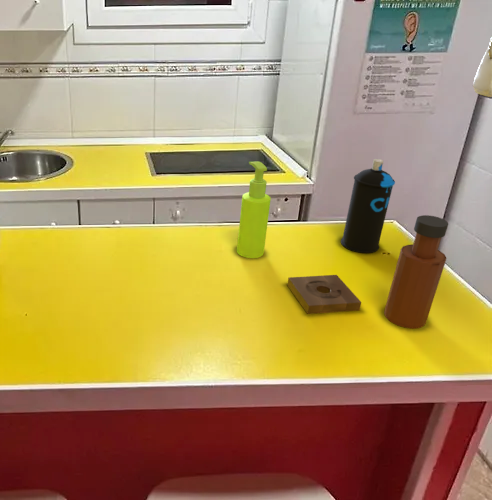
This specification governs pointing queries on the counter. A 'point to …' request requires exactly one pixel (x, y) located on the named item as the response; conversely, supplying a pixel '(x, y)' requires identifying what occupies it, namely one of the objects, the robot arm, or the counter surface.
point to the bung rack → (323, 294)
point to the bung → (431, 226)
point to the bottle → (415, 282)
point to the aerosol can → (367, 209)
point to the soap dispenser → (254, 216)
